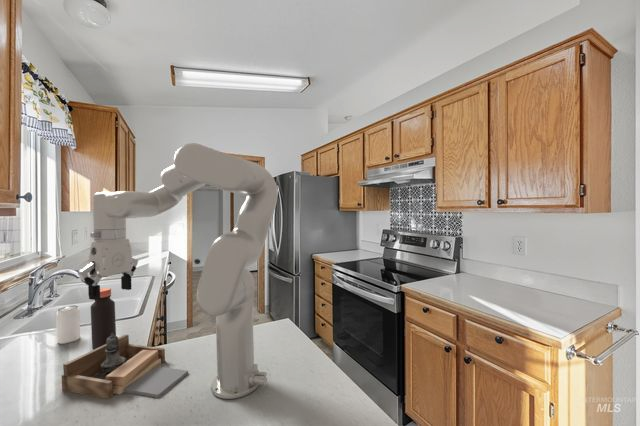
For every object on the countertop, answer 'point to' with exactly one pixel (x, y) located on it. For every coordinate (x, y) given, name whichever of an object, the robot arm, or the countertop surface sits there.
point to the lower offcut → (121, 388)
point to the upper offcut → (132, 367)
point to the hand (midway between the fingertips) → (111, 294)
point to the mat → (156, 381)
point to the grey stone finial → (112, 356)
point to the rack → (98, 369)
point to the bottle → (102, 318)
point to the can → (68, 324)
